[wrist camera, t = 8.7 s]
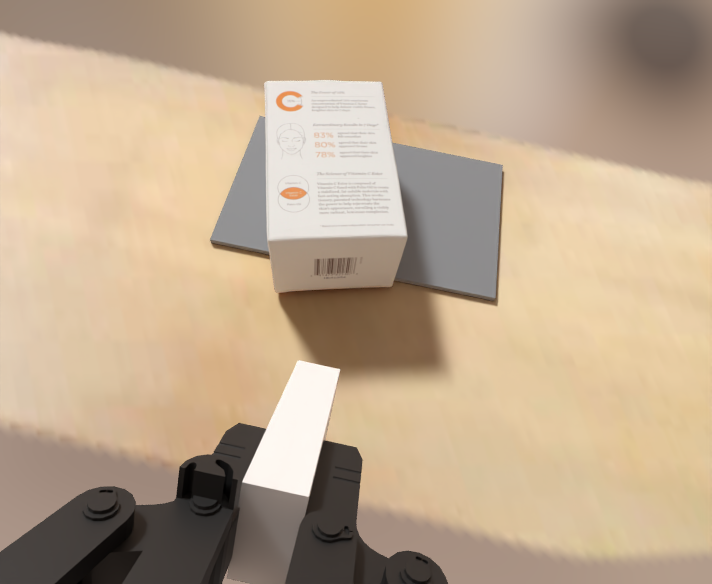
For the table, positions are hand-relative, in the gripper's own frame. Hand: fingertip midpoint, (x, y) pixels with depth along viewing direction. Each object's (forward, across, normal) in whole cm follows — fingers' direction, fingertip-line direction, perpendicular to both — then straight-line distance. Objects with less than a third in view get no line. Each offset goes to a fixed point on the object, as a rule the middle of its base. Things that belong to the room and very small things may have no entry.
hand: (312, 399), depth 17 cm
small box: (+13, -1, +1) cm, 13 cm away
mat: (+22, 0, +5) cm, 22 cm away
